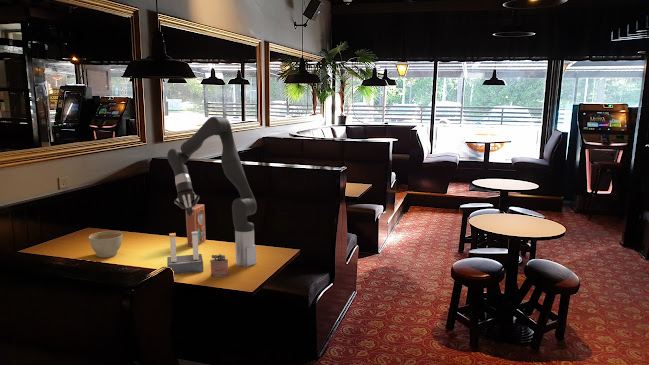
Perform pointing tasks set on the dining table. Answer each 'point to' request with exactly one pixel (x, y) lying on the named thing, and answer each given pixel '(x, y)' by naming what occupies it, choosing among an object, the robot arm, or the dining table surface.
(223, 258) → the lighter
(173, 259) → the handle
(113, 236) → the planter bowl
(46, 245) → the dining table surface
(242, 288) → the dining table surface
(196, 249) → the handle
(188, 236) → the control panel
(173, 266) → the grey rectangular base
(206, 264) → the dining table surface
